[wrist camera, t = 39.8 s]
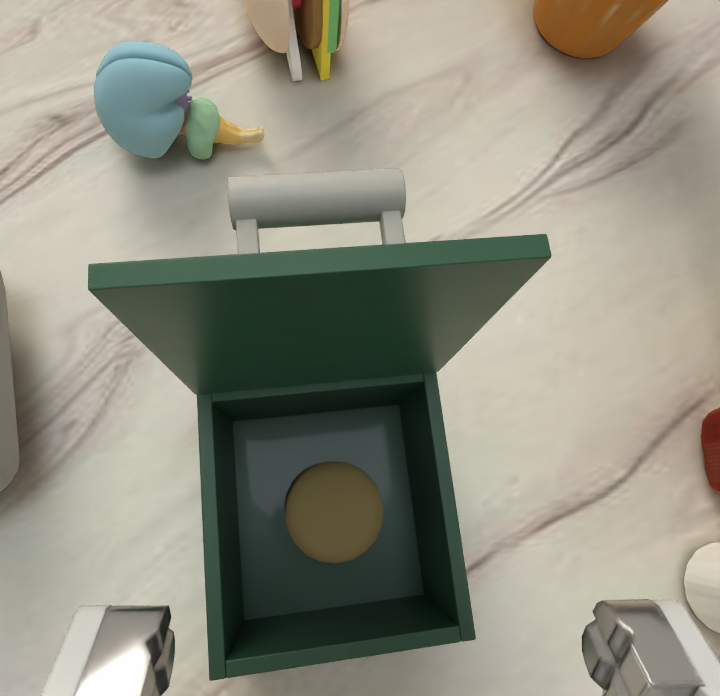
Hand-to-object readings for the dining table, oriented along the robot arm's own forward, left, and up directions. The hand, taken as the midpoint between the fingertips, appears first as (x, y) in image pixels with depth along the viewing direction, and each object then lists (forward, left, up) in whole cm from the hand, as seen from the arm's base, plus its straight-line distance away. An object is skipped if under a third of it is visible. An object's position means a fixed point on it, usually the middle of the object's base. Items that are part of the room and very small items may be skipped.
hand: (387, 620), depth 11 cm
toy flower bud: (+8, -31, -30) cm, 44 cm away
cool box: (0, -1, -29) cm, 29 cm away
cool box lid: (0, -8, -11) cm, 14 cm away
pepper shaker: (0, -1, -29) cm, 29 cm away
